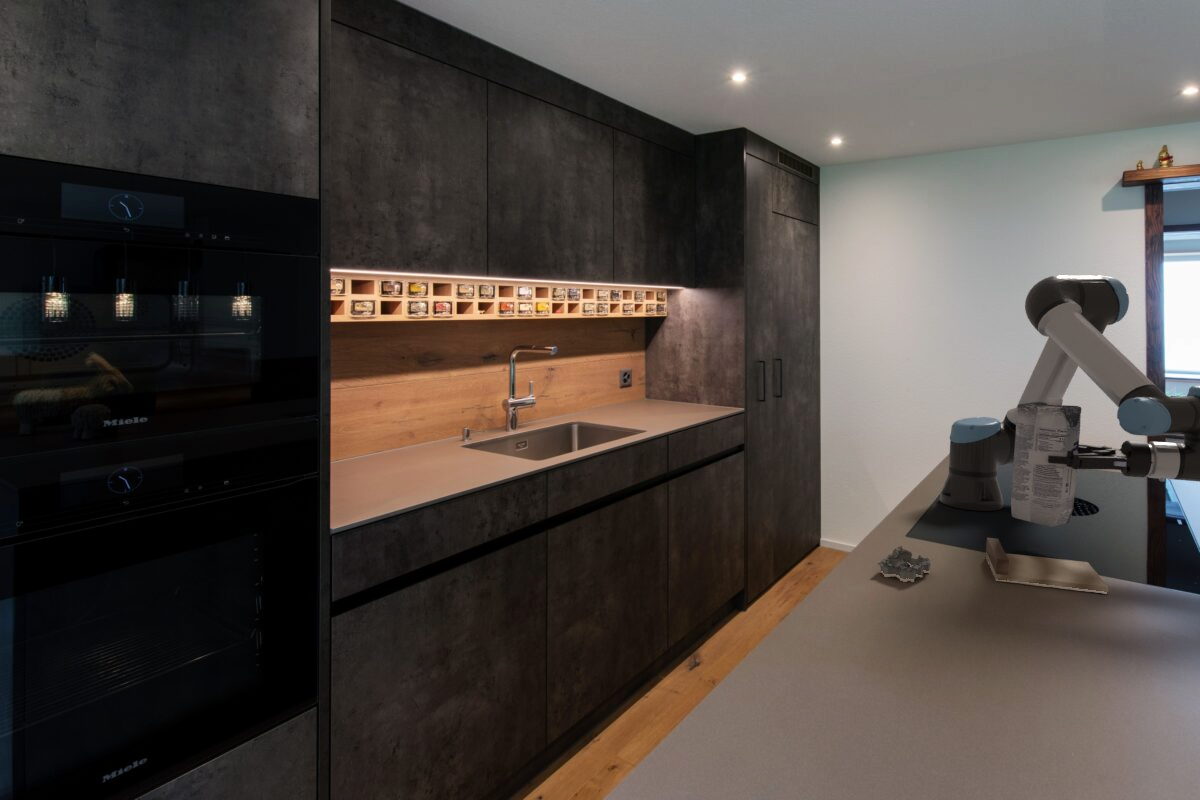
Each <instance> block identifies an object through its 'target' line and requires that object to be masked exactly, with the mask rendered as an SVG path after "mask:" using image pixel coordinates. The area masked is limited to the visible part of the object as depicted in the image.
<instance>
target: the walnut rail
mask: <svg viewBox="0 0 1200 800" xmlns="http://www.w3.org/2000/svg"><path fill="white" fill-rule="evenodd" d="M985 545H986V547H985V553H986V552H987V555H988V557H989V559H990V561H991V564H992V566H993V568H994V570H995V573H996V574H1001V575H1008V567H1009V559H1008V557H1007V555H1006V554H1007V553H1006V551H1005V550H1004V549H1003V548H1004V547H1003V546H1002V544H1001V542H1000V540H999V538H995V537H994V538H993V537H986V544H985ZM1005 553H1006V554H1005Z"/></svg>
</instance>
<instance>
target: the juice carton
mask: <svg viewBox="0 0 1200 800" xmlns="http://www.w3.org/2000/svg"><path fill="white" fill-rule="evenodd" d="M1017 405H1018V404H1017ZM1081 413H1082V407H1081V406H1079V405H1066V404H1065V405H1063V398H1062V399H1055V398H1047V403H1044V402H1032V403H1025V404H1019V405H1018V414H1017V423H1016V436H1015V449H1014V463H1013V465H1012V478H1011V479H1012V480H1011V493H1010V494H1011V495H1010V508H1011V517H1012V518H1014V519H1016V520H1017V519H1018V520H1020V521H1021V520H1022V521H1025V522H1029V523H1033V524H1037V525H1040V526H1044V527H1049V528H1053V527H1056V526H1060V525H1065V524H1068V523H1069V522H1070V520H1071V517H1072V514H1073V510H1074V505H1075V504H1074V503H1075V495H1076V482H1077V481H1076V480H1077V471H1078V469H1073V468H1072V467H1068V466H1066V464H1065V466H1056V465H1041V464H1029V463H1028V460H1029V450H1030V451H1046V452H1062V453H1066V457H1067V452H1068V451H1072V452H1074V453H1073V454H1078V448H1079V444H1080V435H1081V417H1082V415H1081Z"/></svg>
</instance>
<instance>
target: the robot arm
mask: <svg viewBox="0 0 1200 800" xmlns="http://www.w3.org/2000/svg"><path fill="white" fill-rule="evenodd" d="M1127 292H1128V291H1127V288H1126V286H1125V285H1124V284H1123V283H1122V282H1121V281H1120V280H1118V279H1117V278H1116V277H1113V276H1107V275H1099V274H1092V275H1064V274H1062V275H1058V274H1056V275H1052V276H1048V277H1045V278H1043V279H1041V280H1040V281H1037V282H1036V283H1035V284H1034V285H1033V286H1032V287H1031V289H1029V291H1028V292H1027V296H1026V297H1025V298H1026V299H1025V302H1024V303H1025V304H1024V309H1025V314H1026V317H1027V319H1028V321H1029V322H1030V324H1031V326H1033V328H1034V329H1035V330H1036V331H1037V332H1038V333H1039V334H1040V335H1041V336H1043V337H1047V340H1046V343H1045V345H1044V346H1043V349H1042V351H1041V353H1040V354H1039V358H1038V360H1037V362H1036V364H1035V366H1034V369H1033V371H1032V372H1031V375H1030V376H1029V378H1028V379H1029V380H1028V381H1027V384H1026V385H1025V388H1024V390H1023V392H1022V395H1021V397H1020V398H1019V400H1018V403H1017V405H1016V407H1014V408H1010V409H1008V410H1007V412H1006V414H1005V416H1004V418H1003V420H1002V421H1000V420H999V419H998V418H995V417H988V416H982V417H981V416H980V417H973V416H972V417H967V418H960V419H958V420H956V421H954V422H953V424H952V425H951V428H950V435H949V440H950V441H949V458H948V459H949V461H948V474H947V476H946V479H945V482H944V484H943V486H942V488H941V491H940V499H939V501H940V502H941V504H943V505H945V506H949V507H952V508H956V509H962V510H966V511H967V510H968V511H977V512H993V511H998V510H1002V509H1003V508H1004V507H1003V506H1004V498H1003V497H1004V496H1003V494H1002V491H1001V488H1000V484H999V481H998V467H999V466H1013V463H1014V449H1015V436H1016V423H1017V414H1018V405H1019V404H1025V403H1032V402H1044V403H1047V398H1055V399H1063V398H1064V396H1065V394H1066V392H1067V389H1068V388H1069V386H1070V385H1071V382H1072V380H1073V377H1074V376H1075V373H1076V371H1077V370H1078V368H1079V369H1081V370H1082V371H1083V372H1084V374H1085V375H1086V376H1088V378H1089V379H1091V381H1092V382H1093V383H1094V384H1095V385H1096V386H1097V387H1098V388H1099V389H1100V390H1101V391H1102V392H1103V394H1105V395H1106V396H1107V397H1108V398H1109V399H1110V400H1111V401H1112V403H1113V404H1115V406H1116V407H1117V408H1118V409H1117V413H1116V418H1117V419H1118V422H1119V426H1120V427H1121V429H1122V430H1123V431H1125V432H1126V433H1128V434H1130V435H1134V436H1145V437H1158V436H1170V435H1183V442H1182V443H1181V442H1180V443H1178V442H1171V441H1170V442H1165V441H1149V442H1147V441H1142V440H1125V441H1123V443H1122V444H1121V446H1120V448H1119V450H1117V449H1115V448H1113V447H1112V446H1108V445H1096V444H1095V445H1094V444H1083V443H1079V448H1078V454H1073V453H1074V452H1072V451H1068V452H1067V457H1066V453H1062V452H1046V451H1030V450H1029V460H1028V463H1029V464H1041V465H1056V466H1065V464H1066V466H1068V467H1072V468H1073V469H1077V470H1115V471H1117V470H1118V471H1120V472H1121V474H1122V475H1123V476H1125V477H1128V478H1129V477H1131V478H1146V477H1148V478H1151V479H1158V480H1159V481H1160V482H1165V481H1166V480H1177V481H1188V482H1200V384H1199V385H1198V384H1195V385H1192V386H1191V387H1189V389H1188V392H1187V394H1186V396H1185V395H1184V396H1169V395H1167V394H1166V393H1164V391H1162V390H1161V388H1159V387H1158V385H1156V384H1154V382H1153V381H1152V380H1151V379H1149V378H1148V377H1147V376H1146V375H1145V374H1144V373H1143V372H1142V371H1141V370H1140V368H1138V367H1137V366H1136V365H1135V364H1134V363H1133V362H1132V361H1131V360H1130V359H1128V358H1127V356H1126V355H1125V354H1123V353H1122V352H1121V351H1120V349H1118V348H1117V347H1116V346H1115V345H1114V344H1113V343H1112V342H1111V341H1110V340H1109V339H1108V338H1107V337H1106V336H1104V334H1103V333H1104V332H1105V330H1106V328H1107V326H1110V325H1113V324H1116V323H1118V322H1120V321H1122V319H1123V318H1125V316H1126V314H1127V312H1128V310H1129V306H1130V298H1129V297H1130V296H1129V294H1128V293H1127Z"/></svg>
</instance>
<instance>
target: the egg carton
mask: <svg viewBox="0 0 1200 800" xmlns="http://www.w3.org/2000/svg"><path fill="white" fill-rule="evenodd" d="M933 560H934V559H932V558H929V557H927V556H926V557H922V556H921V554H920V555H918V556H917V557H913V554H912V551H910V550H908V549H904V548H903V545H900V546H897V547H895V548H894V549H893V551H892V553H889V554H888V555H887V556H886V557H884V558H882V559H881V561H880V562H877V564H878V566H879V567H880V571H883V573H884V574H896V575H899V576H900V578H903V579H906V578H907V579H908V578H909V579H915V578H916V574H918V575H922V574H923V575H924V573H923V570H926V571H929V570H930V571H931V562H932V561H933ZM907 562H908V563H910V564H911V565H913V566H912V567H910V566H909V565H908V563H907ZM916 579H917V578H916Z"/></svg>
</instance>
